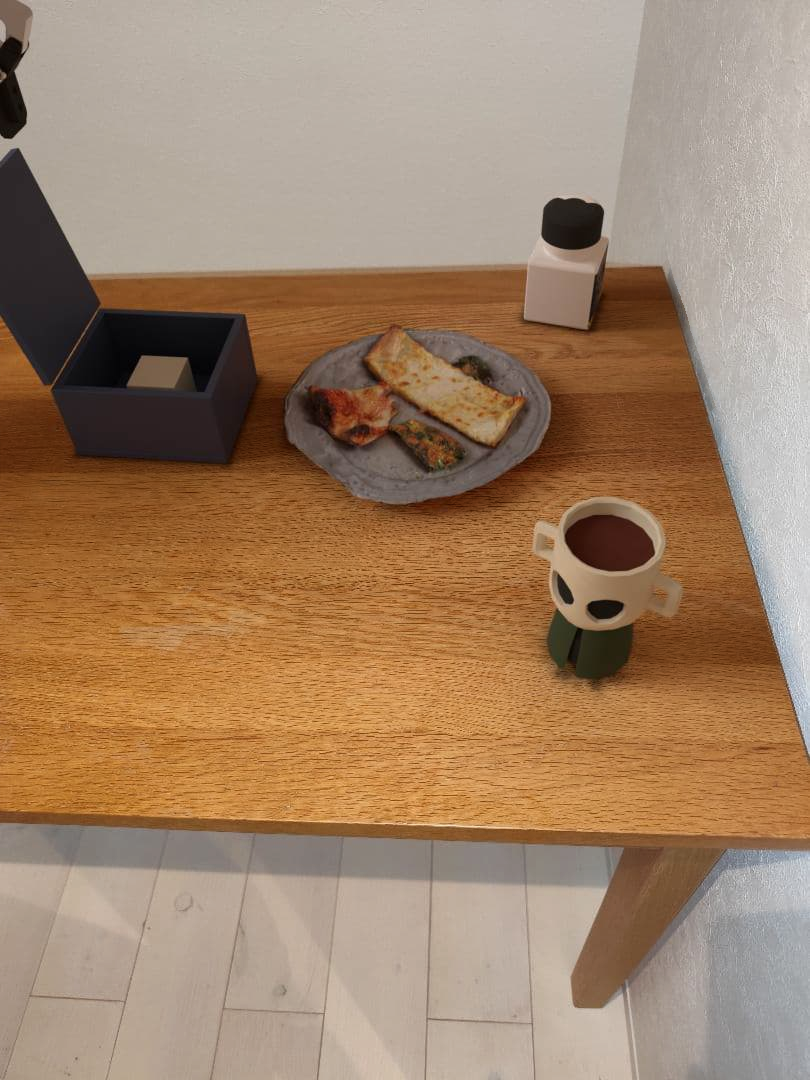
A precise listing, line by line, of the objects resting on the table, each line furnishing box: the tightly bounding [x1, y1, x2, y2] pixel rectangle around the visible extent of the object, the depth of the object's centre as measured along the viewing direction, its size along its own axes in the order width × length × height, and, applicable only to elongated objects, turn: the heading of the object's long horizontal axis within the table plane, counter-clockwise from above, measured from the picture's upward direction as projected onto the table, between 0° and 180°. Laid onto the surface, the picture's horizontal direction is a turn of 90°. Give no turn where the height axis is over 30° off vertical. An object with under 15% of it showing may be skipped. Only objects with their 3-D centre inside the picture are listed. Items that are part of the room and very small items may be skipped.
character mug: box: [531, 496, 684, 681], centre depth 63 cm, size 11×7×13 cm, turn 55°
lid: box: [0, 147, 102, 387], centre depth 77 cm, size 15×13×1 cm
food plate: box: [282, 322, 552, 505], centre depth 84 cm, size 25×23×4 cm
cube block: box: [127, 356, 197, 392], centre depth 85 cm, size 5×5×5 cm
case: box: [50, 307, 259, 464], centre depth 85 cm, size 15×13×8 cm
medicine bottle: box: [523, 194, 610, 331], centre depth 93 cm, size 7×7×12 cm
